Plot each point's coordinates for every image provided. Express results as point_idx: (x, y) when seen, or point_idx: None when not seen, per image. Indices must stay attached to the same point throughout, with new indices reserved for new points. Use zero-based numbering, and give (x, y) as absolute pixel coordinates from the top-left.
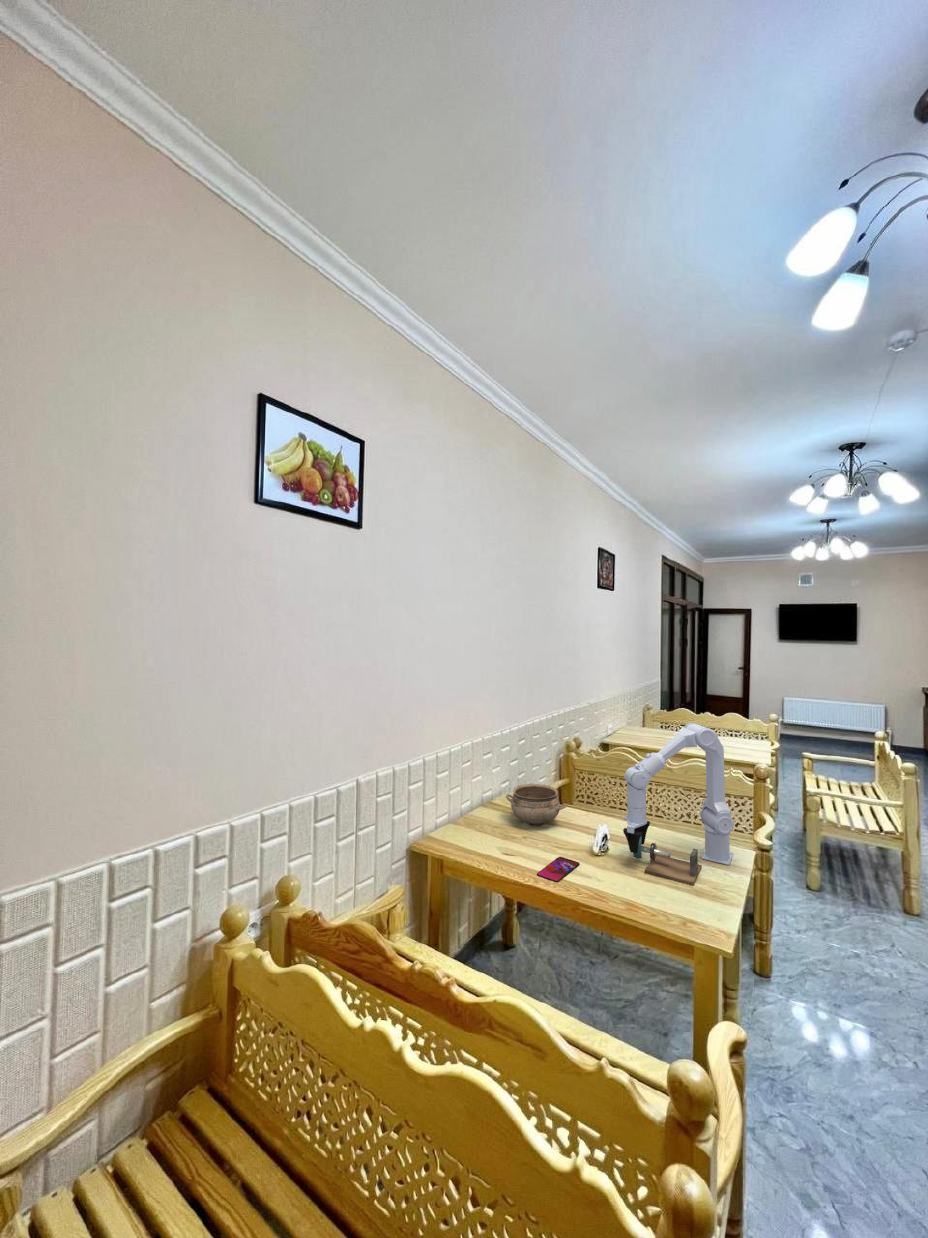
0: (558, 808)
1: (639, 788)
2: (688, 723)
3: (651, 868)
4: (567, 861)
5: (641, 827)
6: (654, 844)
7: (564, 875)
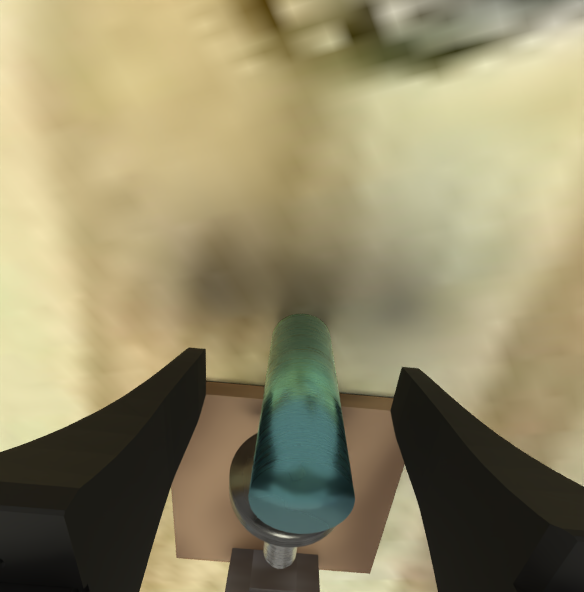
0: None
1: None
2: None
3: (206, 418)
4: None
5: (459, 562)
6: (285, 542)
7: None
